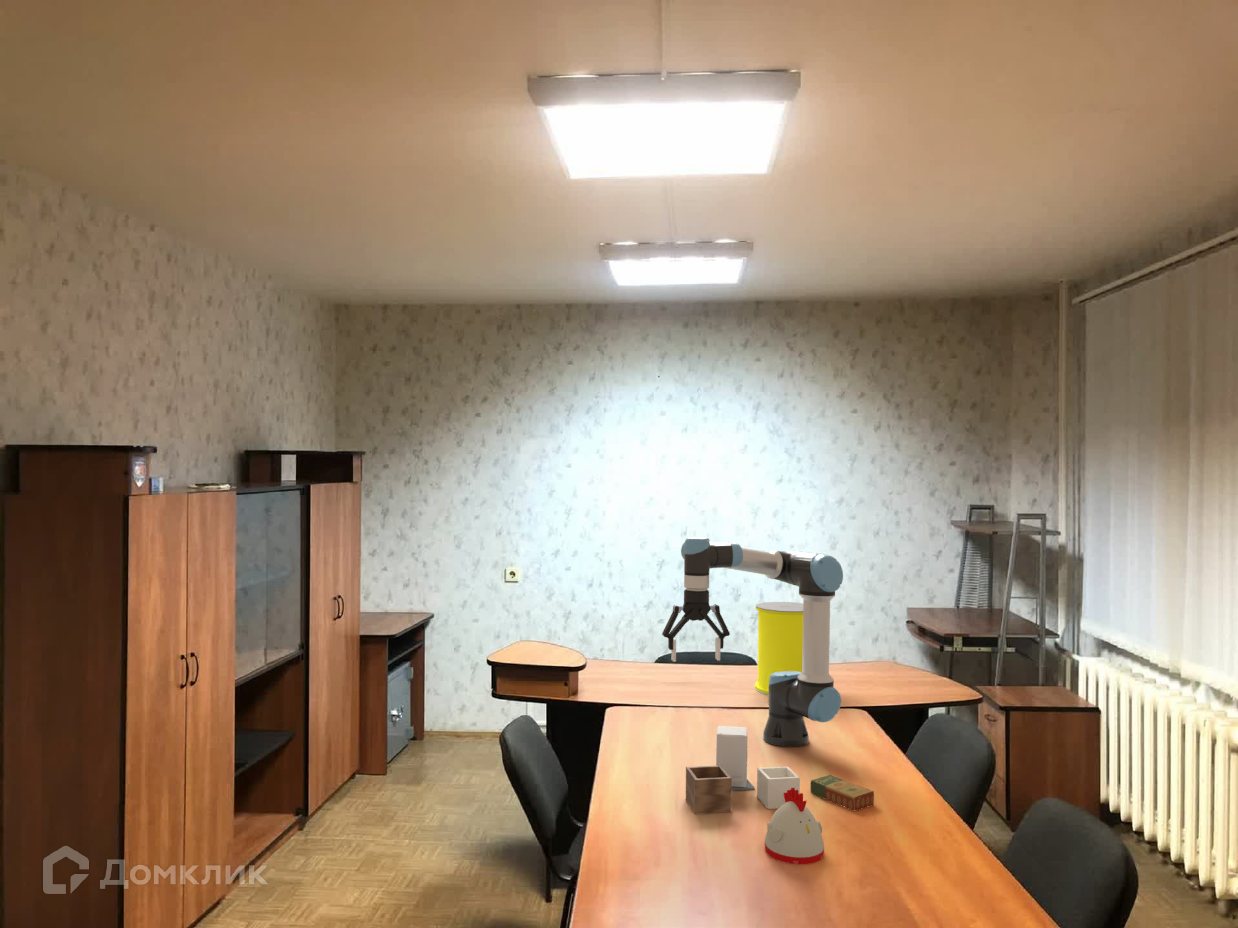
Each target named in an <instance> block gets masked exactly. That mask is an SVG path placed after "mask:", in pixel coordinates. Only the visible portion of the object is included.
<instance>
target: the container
mask: <svg viewBox="0 0 1238 928" xmlns="http://www.w3.org/2000/svg"><path fill="white" fill-rule="evenodd" d="M755 610H756V611H758V615H757V621H758V623H757V626H758V627H757V681H756V682H755V683H754V689H755V690H756V691H757V692H759V693H760V694H764V695H767V696H769V678H770V675H771V674H773V673H775V672H783V671H797V672H802V656H803V603H802V602H794V601H793V602H792V601H768V602H767V601H766V602H760V603H756V604H755Z"/></svg>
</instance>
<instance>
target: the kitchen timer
mask: <svg viewBox="0 0 1238 928" xmlns="http://www.w3.org/2000/svg"><path fill="white" fill-rule="evenodd" d="M784 799H785V803H784V804H783V805H782V806H781V807H779V808H777V809H776V811H775V812H774V813H773V814H772V817H771V818H770V821H769V822H767V827H766V830H767V831H766V834H765V837H764V851H765V853H766V854H767V855H768V856H769V857H770V858H773V859H774V860H776V861H779V862H782V863H785V864H790V865H809V864H814V863H817V862H820V861H821V860H822V859H824V855H825V853H824V852H825V849H824V848H825V847H824V846H825V845H824V840H823V835H822V833H823V827H822V823H821V821H820V820H817V819H816V817H815V816H814V814H813V813H812V811H811V810H810V808H809V807H807V806H806V805H807V801H808V800H804V794H803V792H800V794H799V792H798V790H795V788H791V790H787V792H786V793H784Z"/></svg>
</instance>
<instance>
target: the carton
mask: <svg viewBox="0 0 1238 928" xmlns="http://www.w3.org/2000/svg"><path fill="white" fill-rule="evenodd" d="M810 794H813V795H815V796H817V797H820V798H822V799H823V800H826V799H827V800H826V801H828V802H831V801H832V803H834V804H836V803H837V804H836V805H838V804H839V806H841V805H842V806H841V807H843V806H845V807H846V808H845V807H844V808H845V809H848V808H849V809H848V810H850V809H851V810H850V811H852V810H857V811H859V809H860V810H862V809H861V808H863V809H866V808H868V807H867V806H870V807H872V806H871V805H873V806H874V804H875V793H874V790H872V789H869V788H865V787H863V786H861V785H858V784H855V783H852V782H850V781H847V780H845V779H842V778H840V777H837V776H834V775H832V774H828V775H825V776H822V777H818V778H815V779H811V780H810ZM865 807H866V808H865Z"/></svg>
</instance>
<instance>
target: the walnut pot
mask: <svg viewBox="0 0 1238 928" xmlns="http://www.w3.org/2000/svg"><path fill="white" fill-rule="evenodd" d="M685 801H686V802H687V804H688V805H689V807H690V809H691V810H692V812H693V813H694V815H697V814H699V815H700V814H715V813H716V814H717V813H730V812H731V813H732V791H731V777H730V776H729V775H728V773H727V772H726V771H725V770H724V769H723V767H722V766H721V765H719V766H716V765H700V766H686V767H685Z"/></svg>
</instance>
